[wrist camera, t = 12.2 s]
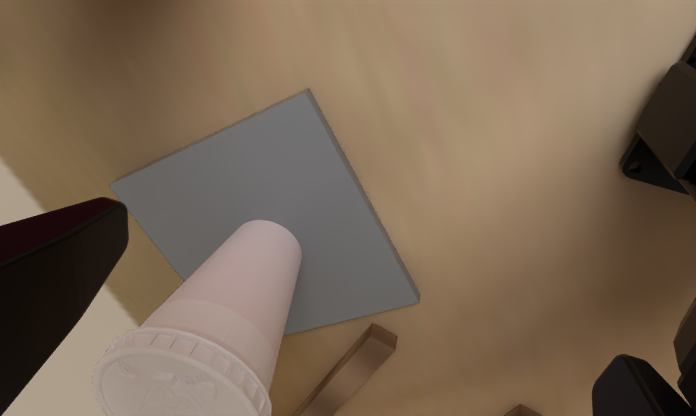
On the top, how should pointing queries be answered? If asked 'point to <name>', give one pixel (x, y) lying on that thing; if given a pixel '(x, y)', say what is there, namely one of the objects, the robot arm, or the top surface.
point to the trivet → (275, 210)
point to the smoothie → (209, 335)
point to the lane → (359, 375)
